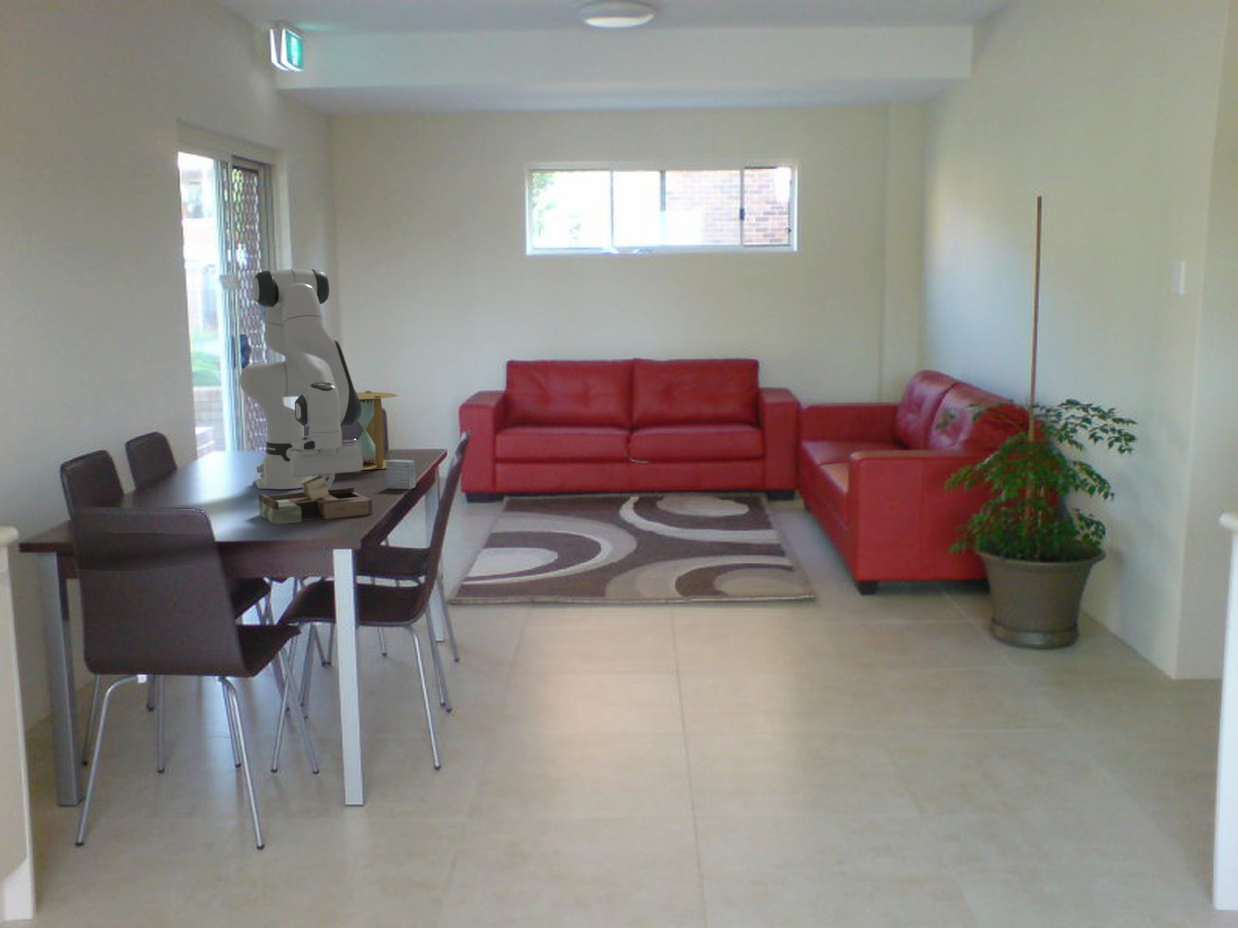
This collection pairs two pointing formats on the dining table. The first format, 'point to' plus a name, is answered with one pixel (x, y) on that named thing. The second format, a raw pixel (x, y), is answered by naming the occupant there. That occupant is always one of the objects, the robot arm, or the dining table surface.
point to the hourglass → (371, 429)
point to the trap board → (313, 506)
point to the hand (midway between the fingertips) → (327, 489)
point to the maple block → (315, 487)
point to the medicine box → (400, 474)
